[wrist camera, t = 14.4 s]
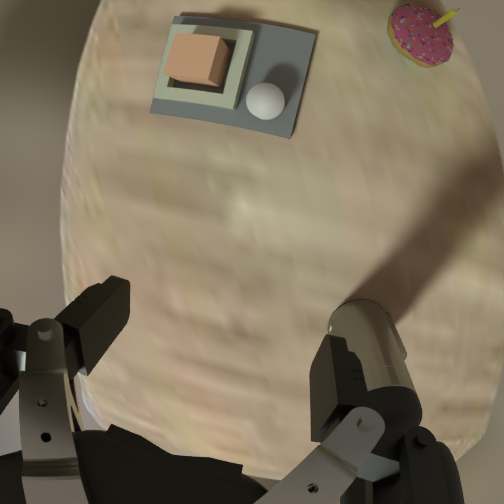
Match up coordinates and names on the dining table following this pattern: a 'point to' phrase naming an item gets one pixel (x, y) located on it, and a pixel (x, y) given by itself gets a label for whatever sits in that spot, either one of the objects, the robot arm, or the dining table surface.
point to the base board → (241, 76)
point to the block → (198, 59)
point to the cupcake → (421, 34)
